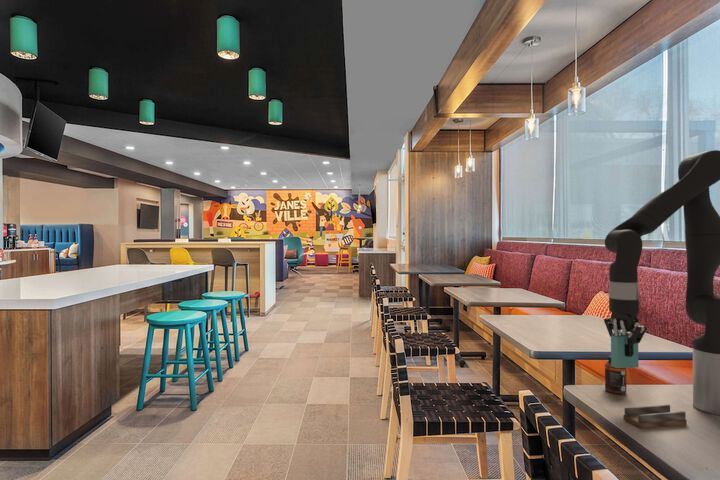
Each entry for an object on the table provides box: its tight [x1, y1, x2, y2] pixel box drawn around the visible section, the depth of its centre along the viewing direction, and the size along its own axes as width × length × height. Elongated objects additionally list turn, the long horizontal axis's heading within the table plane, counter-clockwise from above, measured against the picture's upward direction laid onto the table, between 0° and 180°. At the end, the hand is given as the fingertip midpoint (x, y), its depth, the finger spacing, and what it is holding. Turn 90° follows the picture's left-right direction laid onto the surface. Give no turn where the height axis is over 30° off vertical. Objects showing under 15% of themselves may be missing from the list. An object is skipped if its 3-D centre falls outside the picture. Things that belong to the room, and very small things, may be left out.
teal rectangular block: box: [610, 335, 639, 369], centre depth 118 cm, size 7×2×9 cm, turn 99°
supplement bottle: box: [604, 354, 628, 395], centre depth 129 cm, size 6×6×11 cm
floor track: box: [623, 404, 688, 429], centre depth 108 cm, size 14×6×3 cm, turn 99°
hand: (624, 354), depth 118 cm, fingers closed on teal rectangular block, 2 cm apart
